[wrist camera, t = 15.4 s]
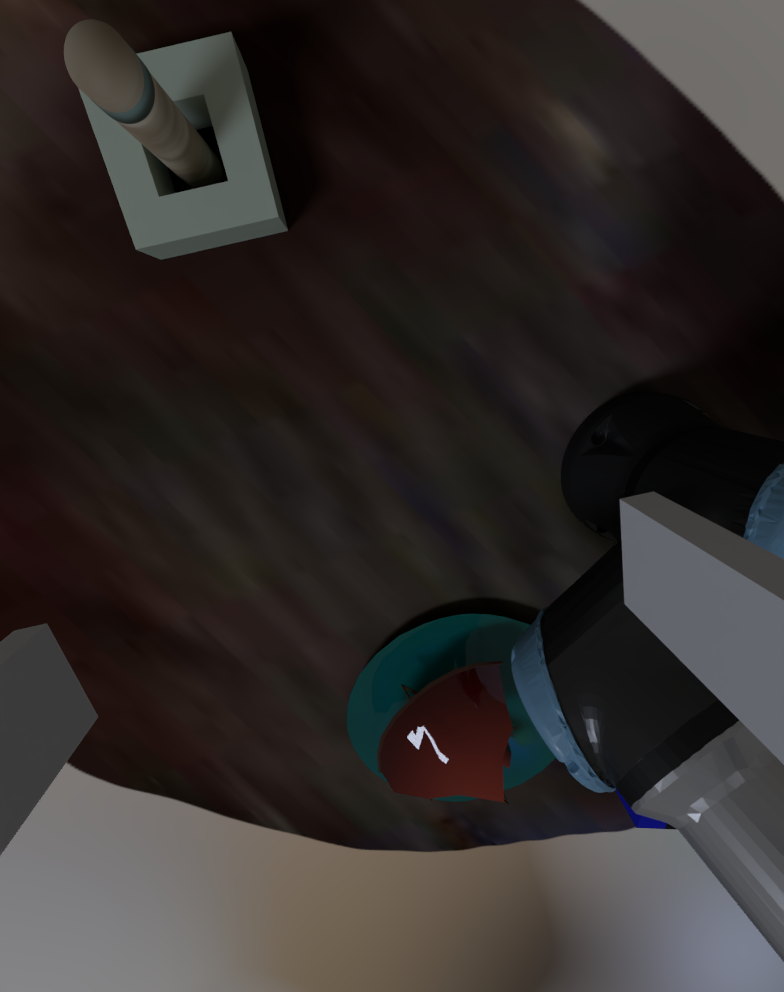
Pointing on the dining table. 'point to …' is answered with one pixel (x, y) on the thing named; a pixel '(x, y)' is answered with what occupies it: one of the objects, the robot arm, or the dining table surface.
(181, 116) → the tan cylinder
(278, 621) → the dining table surface
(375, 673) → the red and teal hat
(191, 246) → the grey square-hole block
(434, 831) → the dining table surface
